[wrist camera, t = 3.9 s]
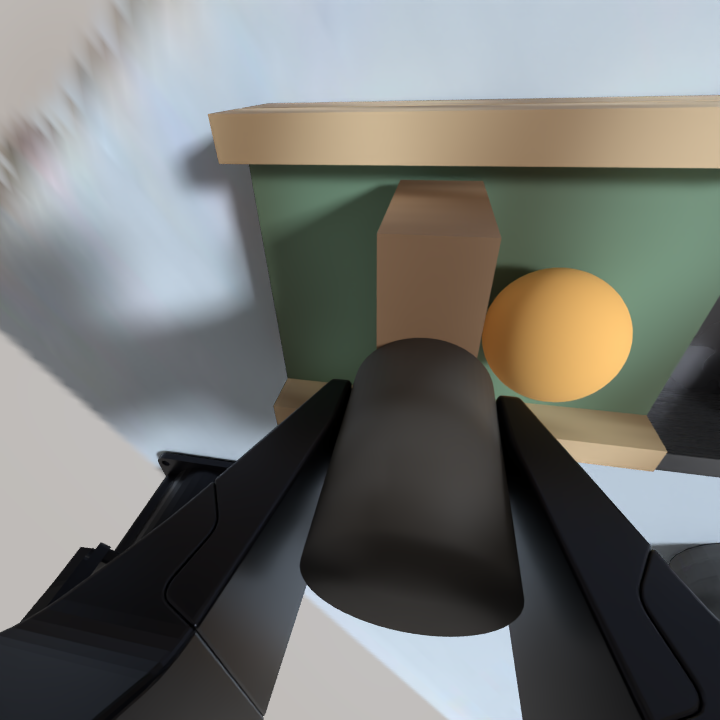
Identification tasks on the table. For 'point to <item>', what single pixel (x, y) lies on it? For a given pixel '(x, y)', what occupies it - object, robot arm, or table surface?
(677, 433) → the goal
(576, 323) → the ball
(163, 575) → the robot arm
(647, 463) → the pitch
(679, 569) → the beverage cup
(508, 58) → the table surface
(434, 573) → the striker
